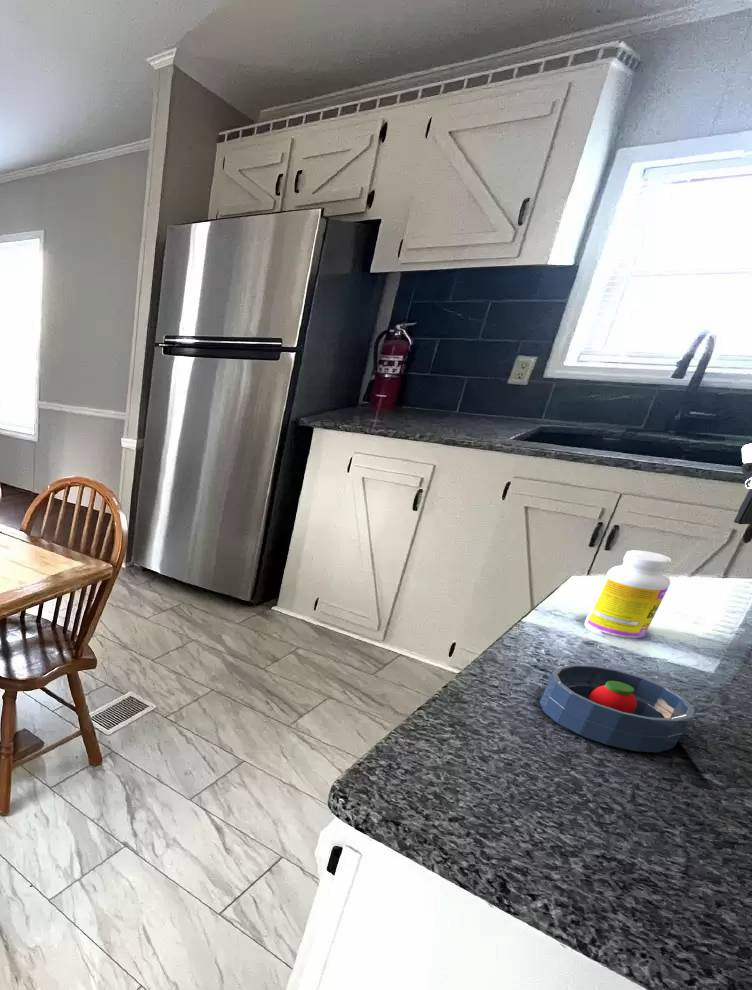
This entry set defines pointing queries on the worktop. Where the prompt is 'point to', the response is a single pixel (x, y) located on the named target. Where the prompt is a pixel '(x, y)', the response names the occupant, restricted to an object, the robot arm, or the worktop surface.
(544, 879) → the worktop surface
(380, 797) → the worktop surface
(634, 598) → the supplement bottle
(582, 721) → the bowl
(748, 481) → the robot arm
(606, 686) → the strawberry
